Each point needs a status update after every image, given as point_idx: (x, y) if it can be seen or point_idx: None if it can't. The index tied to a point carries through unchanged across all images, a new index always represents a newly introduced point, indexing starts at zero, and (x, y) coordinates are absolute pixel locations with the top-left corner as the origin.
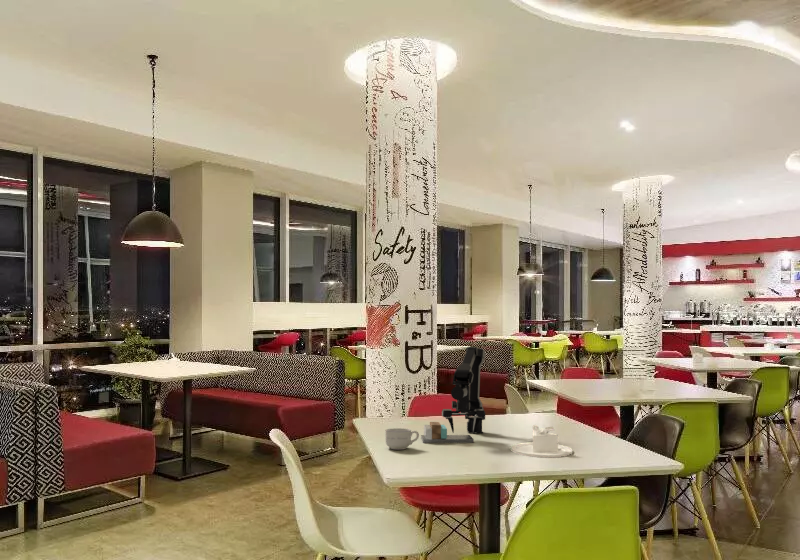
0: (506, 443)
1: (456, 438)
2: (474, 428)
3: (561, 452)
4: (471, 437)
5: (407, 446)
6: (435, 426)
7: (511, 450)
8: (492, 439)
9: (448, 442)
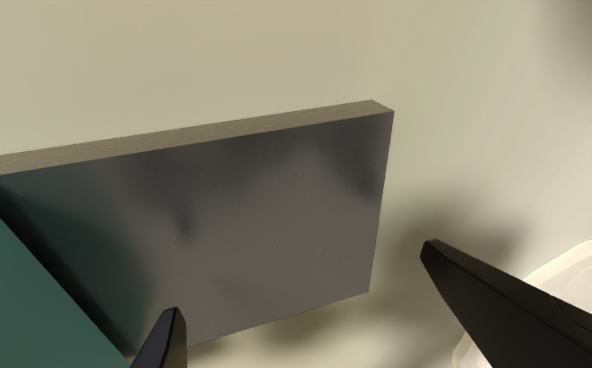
0: (530, 234)
1: (227, 311)
2: (459, 315)
3: None
4: (371, 240)
5: None
6: None
7: (458, 348)
8: (539, 124)
9: None
